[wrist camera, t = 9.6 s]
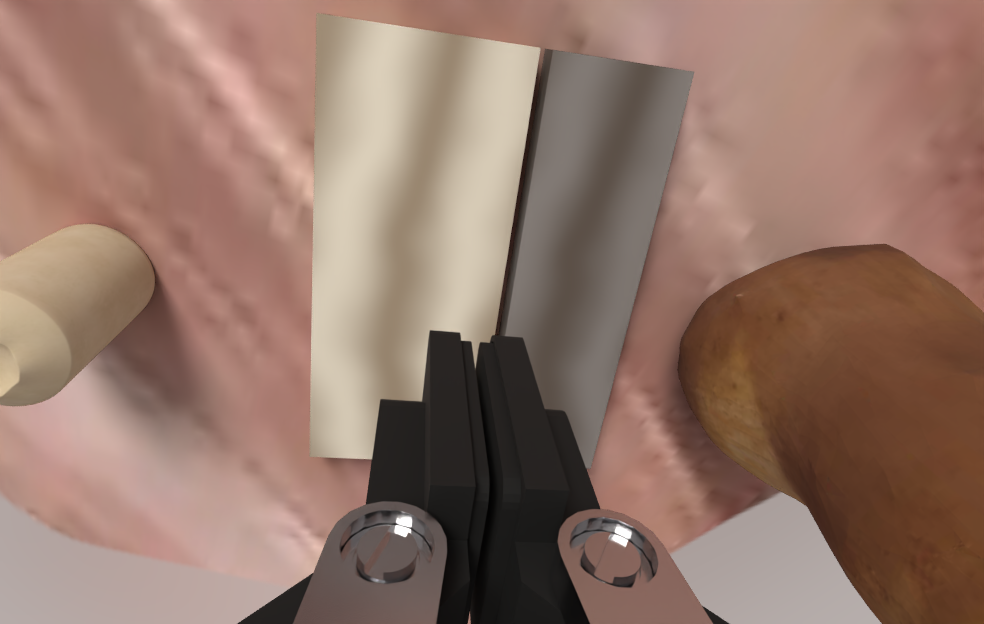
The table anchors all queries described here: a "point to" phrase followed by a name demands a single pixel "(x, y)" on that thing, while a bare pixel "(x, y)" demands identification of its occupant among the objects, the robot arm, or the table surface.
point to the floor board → (588, 223)
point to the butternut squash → (857, 416)
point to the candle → (66, 307)
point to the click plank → (406, 209)
